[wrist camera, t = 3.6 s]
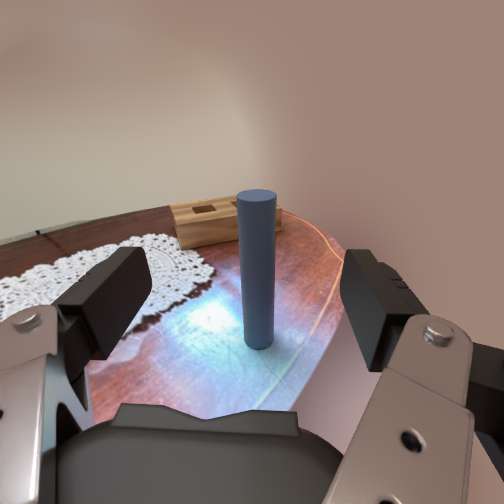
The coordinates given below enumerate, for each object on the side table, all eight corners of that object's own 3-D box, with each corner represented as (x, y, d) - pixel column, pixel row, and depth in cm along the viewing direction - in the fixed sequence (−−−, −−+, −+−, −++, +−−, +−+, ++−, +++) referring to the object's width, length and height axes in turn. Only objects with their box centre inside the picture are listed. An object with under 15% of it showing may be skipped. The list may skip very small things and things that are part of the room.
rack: (173, 226, 56) (169, 204, 53) (258, 212, 62) (258, 192, 60) (181, 250, 46) (176, 224, 44) (281, 231, 52) (281, 207, 50)
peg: (266, 323, 30) (266, 187, 22) (278, 343, 27) (283, 197, 19) (240, 331, 29) (231, 192, 21) (250, 353, 26) (244, 203, 18)
